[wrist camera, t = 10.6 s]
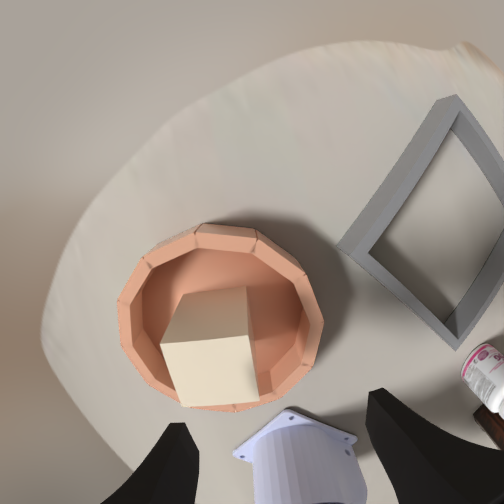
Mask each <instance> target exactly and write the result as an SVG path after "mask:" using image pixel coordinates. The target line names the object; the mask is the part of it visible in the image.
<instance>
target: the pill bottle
mask: <svg viewBox="0 0 504 504" xmlns="http://www.w3.org/2000/svg"><path fill="white" fill-rule="evenodd" d="M461 378H462V380H463V381H464V383H465V384H466V385H467V386H468V387H469V388H470V389H471V390H472V391H473V392H474V393H475V394H476V395H477V396H478V398H479V399H480V400H481V401H482V402H483V403H484V404H485V405H486V407H487V408H488V409H489V410H490V411H492V412H494V413H497V412H499V415H500V416H501V417H502V418H503V419H504V355H502V354H501V353H500V352H499V351H497V350H496V349H495V348H494V347H493V346H491V345H490V344H482V345H480V346H478V347H477V348H476V349H474V350H473V351H472V353H471V354H470V355H469V356H468V358H467V359H466V361H465V363H464V365H463V368H462V371H461Z"/></svg>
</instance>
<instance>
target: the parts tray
mask: <svg viewBox="0 0 504 504" xmlns="http://www.w3.org/2000/svg"><path fill="white" fill-rule="evenodd" d="M450 128H451V129H452V130H453V132H454V133H455V134H456V135H457V137H458V138H459V139H460V141H461V142H462V143H463V145H464V146H465V147H466V149H467V150H468V151H469V153H470V154H471V156H472V157H473V158H474V160H475V161H476V163H477V164H478V166H479V167H480V169H481V170H482V172H483V173H484V175H485V176H486V178H487V179H488V181H489V182H490V184H491V186H492V187H493V189H494V191H495V192H496V194H497V196H498V197H499V199H500V201H501V203H502V204H503V206H504V161H503V159H502V157H501V156H500V154H499V153H498V151H497V149H496V148H495V146H494V145H493V143H492V141H491V140H490V138H489V137H488V135H487V134H486V133H485V131H484V130H483V128H482V127H481V125H480V124H479V123H478V121H477V120H476V118H475V117H474V116H473V114H472V113H471V112H470V110H469V109H468V108H467V107H466V105H465V104H464V103H463V101H462V100H461V99H460V98H459V97H458V95H457V94H456V95H452V96H449V97H446V98H443V99H439V100H437V101H436V102H435V104H434V105H433V107H432V109H431V110H430V112H429V114H428V115H427V117H426V118H425V120H424V122H423V123H422V125H421V126H420V128H419V129H418V131H417V133H416V134H415V136H414V137H413V139H412V140H411V142H410V143H409V145H408V146H407V148H406V149H405V151H404V152H403V154H402V155H401V157H400V158H399V160H398V161H397V163H396V164H395V166H394V167H393V169H392V170H391V172H390V173H389V174H388V176H387V177H386V179H385V180H384V182H383V183H382V184H381V186H380V187H379V189H378V190H377V191H376V193H375V194H374V196H373V197H372V198H371V200H370V201H369V203H368V204H367V205H366V207H365V208H364V210H363V211H362V212H361V214H360V215H359V216H358V218H357V219H356V220H355V222H354V223H353V224H352V226H351V227H350V228H349V230H348V231H347V232H346V234H345V235H344V236H343V238H342V239H341V240H340V242H339V243H338V244H337V247H338V248H339V249H341V250H342V251H343V252H344V253H345V254H347V255H348V256H349V257H350V258H351V259H353V260H354V261H355V262H356V263H357V264H359V265H360V266H361V267H362V268H363V269H365V270H366V271H367V272H368V273H369V274H370V275H372V276H373V277H374V278H375V279H376V280H377V281H379V282H380V283H381V284H382V285H383V286H384V287H386V288H387V289H388V290H389V291H390V292H391V293H392V294H394V295H395V296H396V297H397V298H398V299H399V300H400V301H401V302H403V303H404V304H405V305H406V306H407V307H408V308H409V309H410V310H411V311H413V312H414V313H415V314H416V315H417V316H418V317H419V318H420V319H421V320H422V321H423V322H424V323H426V324H427V325H428V326H429V327H430V328H431V329H432V330H433V331H434V332H435V333H436V334H437V335H438V336H439V337H440V338H442V339H443V340H444V341H445V342H446V343H447V344H448V345H449V346H450V347H451V348H452V349H454V350H455V351H456V350H457V349H458V348H459V347H460V345H461V344H462V343H463V341H464V340H465V339H466V338H467V336H468V335H469V334H470V332H471V331H472V329H473V328H474V327H475V325H476V324H477V323H478V321H479V320H480V318H481V317H482V315H483V314H484V312H485V311H486V309H487V308H488V306H489V305H490V303H491V302H492V300H493V299H494V297H495V295H496V294H497V292H498V290H499V289H500V287H501V285H502V284H503V282H504V230H503V232H502V234H501V236H500V238H499V240H498V242H497V243H496V245H495V247H494V249H493V251H492V253H491V254H490V256H489V258H488V260H487V261H486V263H485V265H484V266H483V268H482V270H481V271H480V273H479V274H478V276H477V278H476V279H475V281H474V282H473V284H472V285H471V287H470V288H469V290H468V291H467V293H466V294H465V296H464V297H463V299H462V300H461V302H460V303H459V305H458V306H457V307H456V309H455V310H454V311H453V313H452V314H451V316H450V317H449V318H448V320H447V321H446V322H445V323H444V325H443V324H442V323H441V322H440V321H439V320H438V319H437V318H436V317H435V316H434V315H433V314H432V313H431V312H430V311H429V310H428V309H427V308H426V307H425V306H424V305H423V304H422V303H421V302H420V301H419V300H418V299H417V298H416V297H415V296H414V295H413V294H412V293H411V292H410V291H409V290H408V289H407V288H406V287H405V286H404V285H402V284H401V283H400V282H399V281H398V280H397V279H396V278H395V277H394V276H393V275H392V274H391V273H390V272H388V271H387V270H386V269H385V268H384V267H383V266H382V265H381V264H380V263H378V262H377V261H376V260H375V259H374V258H373V257H372V256H371V255H369V254H368V252H369V250H370V249H371V248H372V246H373V245H374V244H375V242H376V241H377V240H378V238H379V237H380V235H381V234H382V233H383V231H384V230H385V229H386V227H387V226H388V224H389V223H390V222H391V220H392V219H393V217H394V216H395V214H396V213H397V212H398V210H399V209H400V207H401V206H402V204H403V203H404V201H405V200H406V198H407V197H408V195H409V194H410V192H411V191H412V189H413V188H414V186H415V185H416V183H417V182H418V180H419V179H420V177H421V176H422V174H423V172H424V171H425V169H426V168H427V166H428V164H429V163H430V161H431V160H432V158H433V156H434V155H435V153H436V151H437V150H438V148H439V146H440V145H441V143H442V141H443V140H444V138H445V136H446V134H447V133H448V131H449V129H450Z"/></svg>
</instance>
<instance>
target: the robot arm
mask: <svg viewBox="0 0 504 504" xmlns="http://www.w3.org/2000/svg"><path fill="white" fill-rule="evenodd" d="M291 416H293V417H291ZM365 425H366V428H367V431H368V434H369V437H370V439H371V442H372V445H373V447H374V449H375V451H376V453H377V455H378V457H379V459H380V461H381V463H382V465H383V467H384V469H385V471H386V473H387V475H388V477H389V479H390V481H391V483H392V485H393V488H394V490H395V493H396V496H397V499H398V502H399V504H504V451H502V450H497V449H492V448H488V447H484V446H481V445H478V444H475V443H471V442H468V441H466V440H463V439H461V438H458V437H456V436H454V435H452V434H450V433H448V432H446V431H444V430H442V429H440V428H439V427H437V426H435V425H434V424H432V423H430V422H429V421H427V420H426V419H424V418H423V417H421V416H420V415H418V414H417V413H415V412H414V411H413V410H411V409H410V408H408V407H407V406H406V405H405V404H403V403H402V402H401V401H399V400H398V399H397V398H396V397H394V396H393V395H392V394H391V393H389V392H388V391H387V390H386V389H384V388H380V389H377V390H374V391H370V392H369V395H368V406H367V415H366V424H365ZM357 440H358V439H357V436H355V435H352V434H349V433H346V432H344V431H341V430H338V429H336V428H333V427H331V426H328V425H326V424H323V423H321V422H318V421H316V420H313V419H311V418H308V417H306V416H304V415H301V414H299V413H297V412H295V411H292V410H289V409H286V410H283V411H282V412H281V413H280V414H279V415H277V416H276V417H275V418H274V419H273V420H272V421H270V422H269V423H268V424H267V425H266V426H264V427H263V428H262V429H261V430H260V431H258V432H257V433H256V434H255V435H253V436H252V437H251V438H250V439H248V440H247V441H246V442H245V443H243V444H242V445H241V446H239V447H238V448H237V449H235V450H234V451H233V456H234V457H236V458H239V459H242V460H244V461H247V462H250V463H253V478H254V498H255V504H366V500H367V486H366V483H365V480H364V477H363V475H362V472H361V469H360V467H359V464H358V461H357V459H356V456H355V453H354V451H353V448H352V446H351V445H353V444H354V443H355V442H356V441H357ZM198 477H199V450H198V448H197V446H196V444H195V442H194V441H193V439H192V437H191V435H190V432H189V430H188V428H187V426H186V424H185V423H170V424H169V425H168V427H167V428H166V430H165V431H164V433H163V434H162V436H161V437H160V439H159V440H158V441H157V443H156V444H155V446H154V447H153V449H152V450H151V451H150V453H149V454H148V455H147V457H146V458H145V459H144V461H143V462H142V463H141V465H140V466H139V467H138V468H137V469H136V470H135V472H134V473H133V474H132V475H131V476H130V477H129V479H128V480H127V481H126V482H125V483H124V484H123V485H122V486H121V487H120V488H119V489H117V490H116V491H115V492H114V493H113V494H112V495H111V496H110V497H108V498H107V499H106V500H105V501H103V502H102V503H101V504H194V503H195V496H196V490H197V483H198Z"/></svg>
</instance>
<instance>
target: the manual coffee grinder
mask: <svg viewBox="0 0 504 504" xmlns="http://www.w3.org/2000/svg"><path fill="white" fill-rule="evenodd" d="M473 416H474V418H475V421H476V422H477V423H478V425H479V426H480V427H481V429H482V430H483V431H484V432H486V433H487V435H488V436H489V437H490V439H491V440H492V441H493V443H494V444H495V445H496V446H497V448H498V449H499V450H502V451H504V419H503V418H502V417H501V416H500V415H499V412H497V413H494V412H492V411H490V410H489V409H488V408H487V407H486V405H485V404H484V403H483V405H482V406H481V407H480V408H479V409H478V410H477V411H476V412H475V413H474V414H473Z"/></svg>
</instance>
